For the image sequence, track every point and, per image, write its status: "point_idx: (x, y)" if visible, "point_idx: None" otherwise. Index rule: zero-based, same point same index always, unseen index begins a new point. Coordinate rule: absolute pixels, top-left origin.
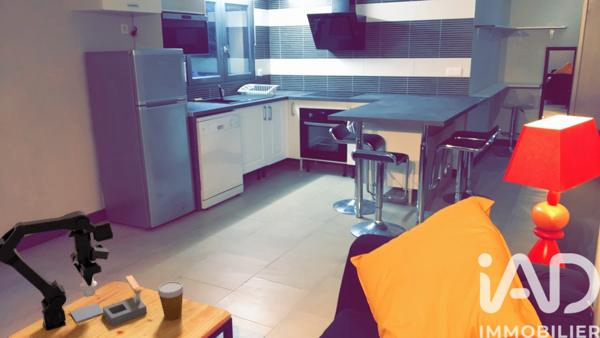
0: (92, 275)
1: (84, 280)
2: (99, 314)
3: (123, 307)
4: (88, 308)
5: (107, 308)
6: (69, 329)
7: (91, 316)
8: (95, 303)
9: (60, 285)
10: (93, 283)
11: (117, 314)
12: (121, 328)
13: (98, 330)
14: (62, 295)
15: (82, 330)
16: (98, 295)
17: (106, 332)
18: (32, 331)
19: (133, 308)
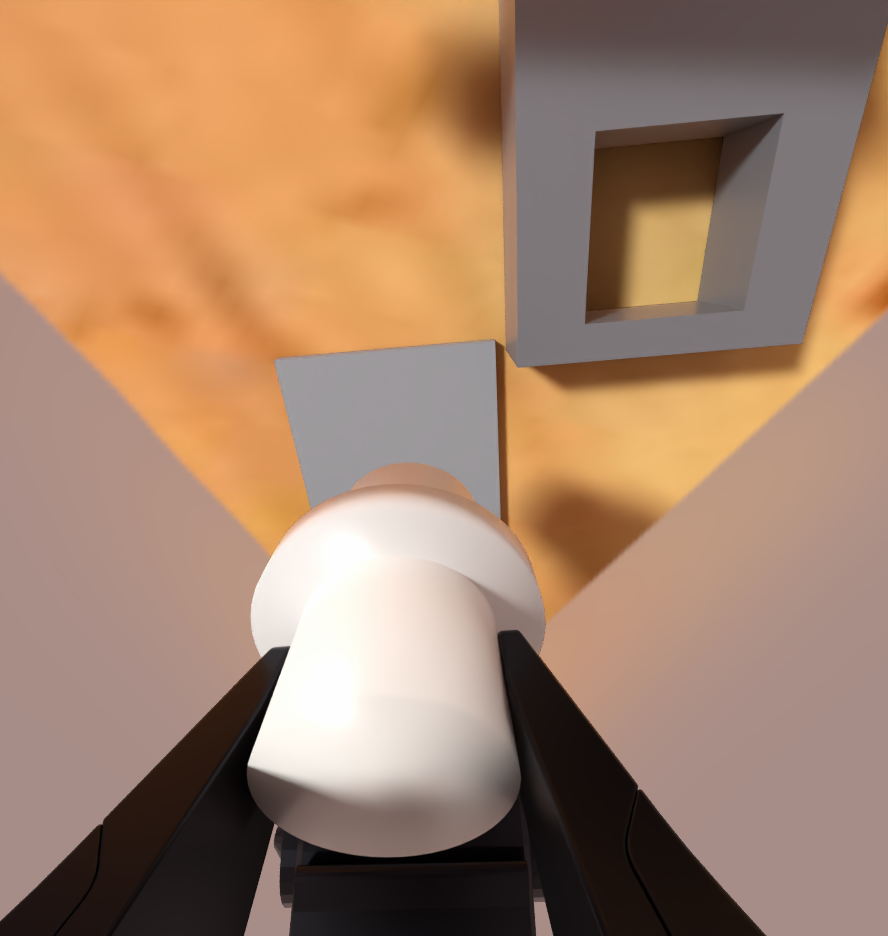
0: (731, 914)
1: (481, 815)
2: (494, 383)
3: (605, 138)
4: (345, 443)
5: (577, 329)
6: (549, 582)
7: (496, 447)
8: (280, 374)
9: (312, 916)
10: (456, 582)
11: (784, 265)
12: (857, 268)
13: (717, 437)
14: (529, 865)
15: (625, 523)
16: (96, 307)
17: (796, 393)
18: None
19: (834, 18)
